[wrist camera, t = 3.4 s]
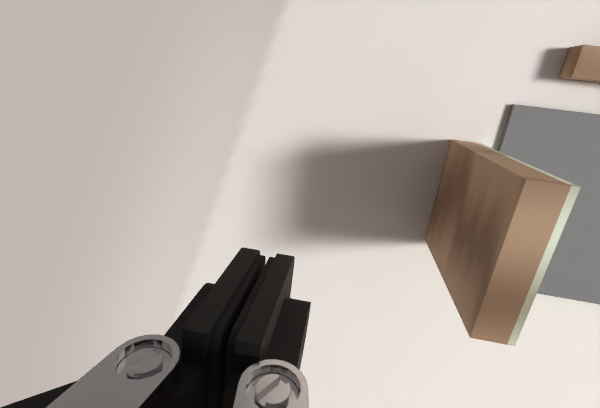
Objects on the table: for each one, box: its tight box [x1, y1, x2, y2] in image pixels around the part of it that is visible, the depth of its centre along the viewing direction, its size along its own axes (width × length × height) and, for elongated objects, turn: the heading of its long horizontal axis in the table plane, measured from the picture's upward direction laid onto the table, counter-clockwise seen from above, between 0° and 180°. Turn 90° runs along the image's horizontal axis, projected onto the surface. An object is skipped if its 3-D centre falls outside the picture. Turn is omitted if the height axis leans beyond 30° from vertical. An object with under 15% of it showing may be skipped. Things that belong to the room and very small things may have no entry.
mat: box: [498, 104, 600, 304], centre depth 21 cm, size 12×11×1 cm
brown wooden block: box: [425, 140, 581, 346], centre depth 18 cm, size 7×2×10 cm, turn 174°
